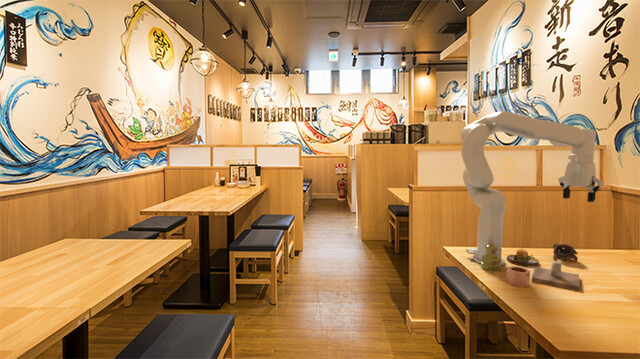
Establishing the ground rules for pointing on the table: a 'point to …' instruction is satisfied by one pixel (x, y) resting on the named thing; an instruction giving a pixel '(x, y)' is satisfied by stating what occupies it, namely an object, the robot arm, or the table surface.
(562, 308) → the table surface
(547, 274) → the post stand
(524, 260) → the burger
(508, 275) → the ring
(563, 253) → the pottery mug
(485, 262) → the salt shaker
